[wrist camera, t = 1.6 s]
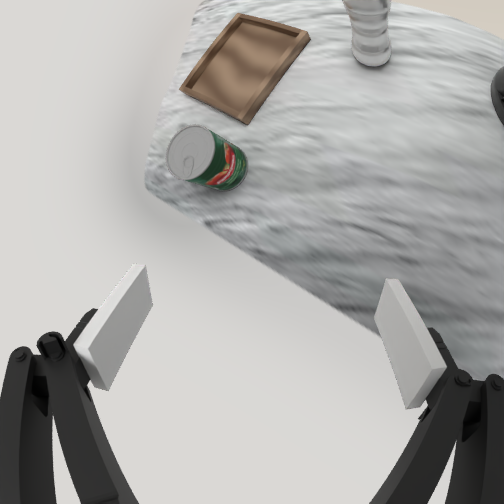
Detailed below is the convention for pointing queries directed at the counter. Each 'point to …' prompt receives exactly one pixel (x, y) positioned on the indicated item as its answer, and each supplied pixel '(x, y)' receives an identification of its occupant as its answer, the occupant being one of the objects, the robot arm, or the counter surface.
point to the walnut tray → (244, 65)
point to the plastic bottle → (369, 30)
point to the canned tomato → (205, 159)
